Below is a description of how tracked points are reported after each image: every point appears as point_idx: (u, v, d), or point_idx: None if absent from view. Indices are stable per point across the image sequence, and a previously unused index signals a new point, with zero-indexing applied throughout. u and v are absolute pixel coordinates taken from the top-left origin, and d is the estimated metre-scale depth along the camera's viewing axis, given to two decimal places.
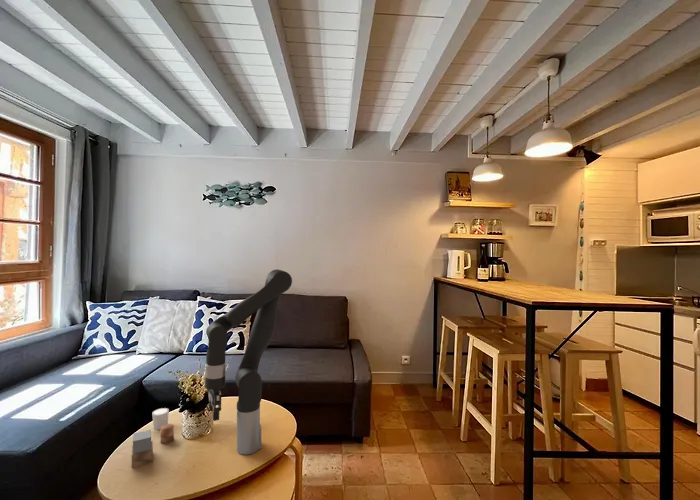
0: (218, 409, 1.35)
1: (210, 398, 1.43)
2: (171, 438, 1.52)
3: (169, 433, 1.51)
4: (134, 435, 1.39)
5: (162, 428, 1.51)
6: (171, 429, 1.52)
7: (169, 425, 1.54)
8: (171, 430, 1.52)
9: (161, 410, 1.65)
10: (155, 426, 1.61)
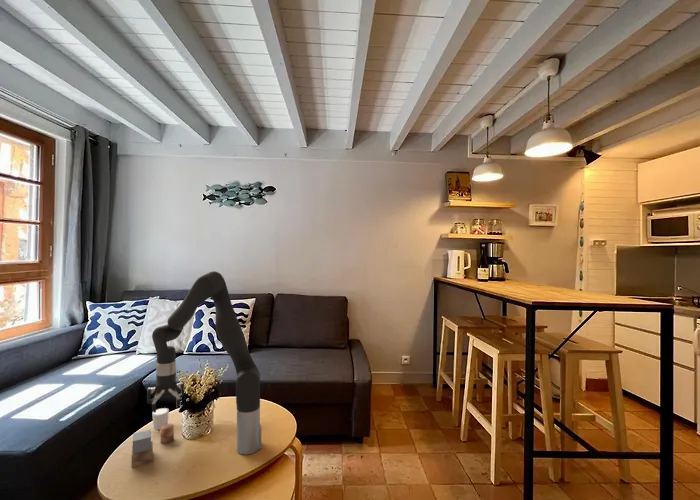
0: None
1: None
2: (171, 438, 1.52)
3: (169, 433, 1.51)
4: (134, 435, 1.39)
5: (162, 428, 1.51)
6: (171, 429, 1.52)
7: (169, 425, 1.54)
8: (171, 430, 1.52)
9: (161, 410, 1.65)
10: (155, 426, 1.61)
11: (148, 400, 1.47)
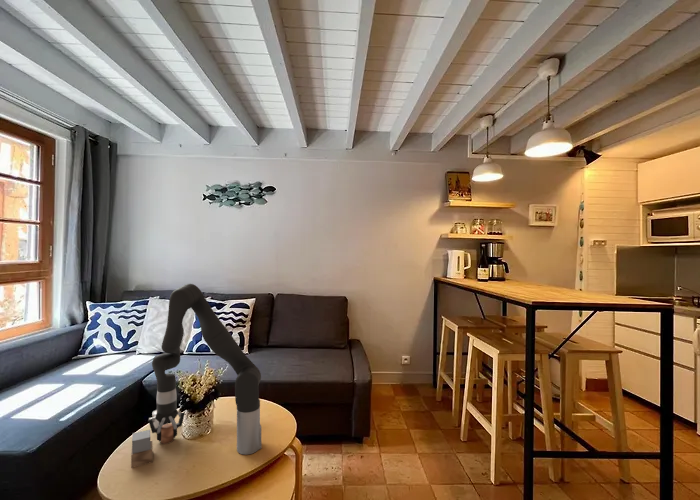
0: None
1: (161, 427, 1.51)
2: (171, 438, 1.52)
3: (169, 432, 1.51)
4: (133, 435, 1.39)
5: (162, 428, 1.51)
6: (171, 429, 1.52)
7: (169, 425, 1.54)
8: (171, 430, 1.52)
9: None
10: (155, 426, 1.61)
11: (152, 430, 1.49)
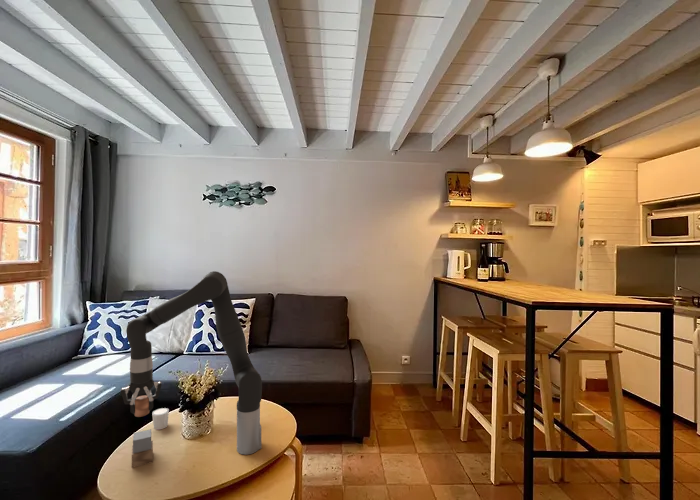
0: None
1: (135, 398, 1.37)
2: (146, 410, 1.38)
3: (144, 404, 1.37)
4: (134, 435, 1.39)
5: (136, 399, 1.38)
6: (146, 401, 1.38)
7: (144, 397, 1.40)
8: (146, 402, 1.38)
9: (161, 410, 1.65)
10: (155, 426, 1.61)
11: (125, 401, 1.35)
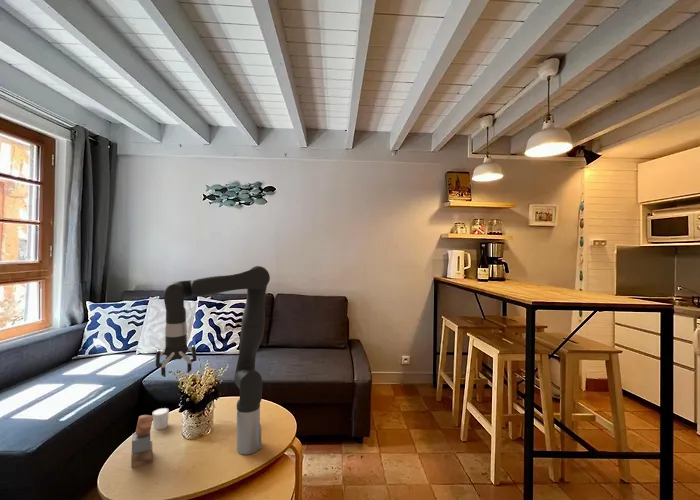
0: None
1: (167, 362, 1.38)
2: (142, 431, 1.37)
3: (141, 423, 1.38)
4: (133, 435, 1.39)
5: (141, 416, 1.41)
6: (145, 420, 1.38)
7: (149, 417, 1.41)
8: (144, 421, 1.38)
9: (161, 410, 1.65)
10: (155, 426, 1.61)
11: (157, 363, 1.36)
